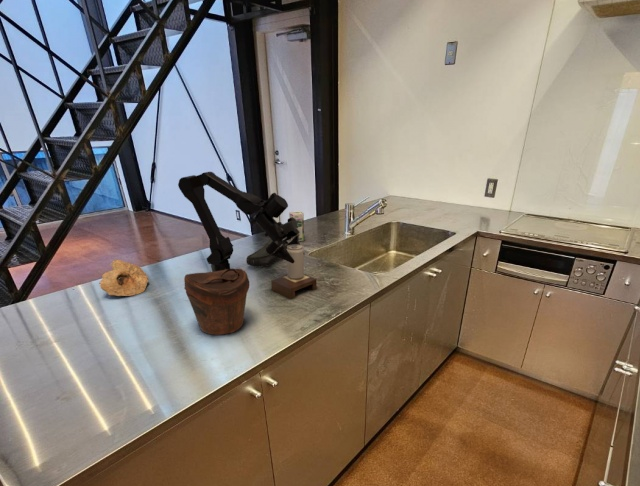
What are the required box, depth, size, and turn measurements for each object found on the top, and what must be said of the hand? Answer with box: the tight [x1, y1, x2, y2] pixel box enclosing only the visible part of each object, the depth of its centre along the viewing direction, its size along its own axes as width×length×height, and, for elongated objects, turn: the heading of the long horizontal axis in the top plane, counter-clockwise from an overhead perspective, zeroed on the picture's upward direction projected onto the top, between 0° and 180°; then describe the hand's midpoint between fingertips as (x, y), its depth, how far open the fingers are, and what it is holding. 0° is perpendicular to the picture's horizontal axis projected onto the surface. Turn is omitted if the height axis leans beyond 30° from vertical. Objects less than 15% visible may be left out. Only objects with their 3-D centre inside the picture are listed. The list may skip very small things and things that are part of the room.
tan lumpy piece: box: [98, 258, 150, 297], centre depth 139 cm, size 18×14×8 cm
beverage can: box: [286, 244, 305, 279], centre depth 140 cm, size 6×6×12 cm
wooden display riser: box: [270, 273, 317, 300], centre depth 142 cm, size 13×11×4 cm
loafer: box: [246, 238, 289, 268], centre depth 168 cm, size 10×29×10 cm, turn 152°
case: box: [183, 268, 250, 336], centre depth 114 cm, size 18×20×18 cm
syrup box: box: [288, 210, 305, 242], centre depth 196 cm, size 6×6×14 cm
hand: (298, 258), depth 139 cm, fingers open, 9 cm apart
